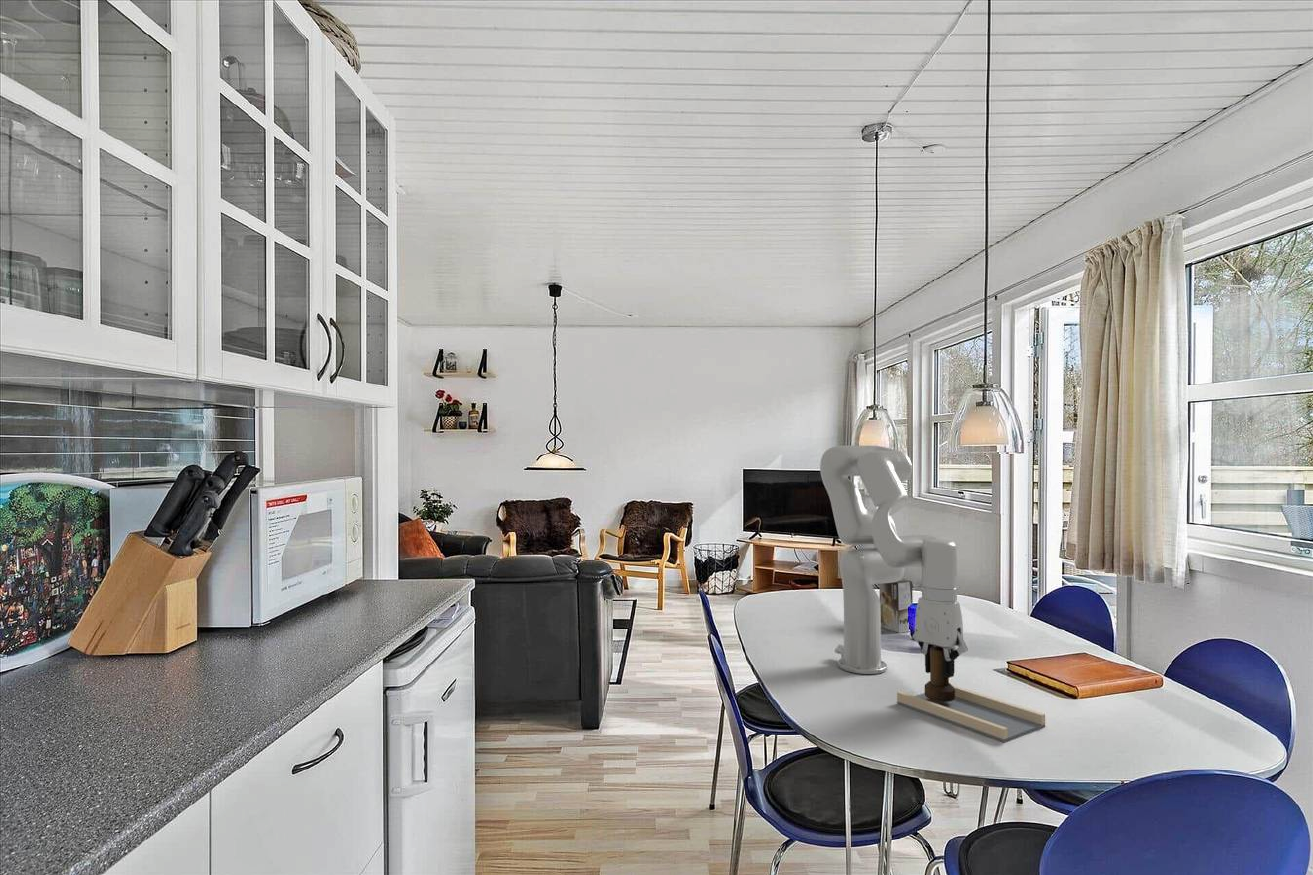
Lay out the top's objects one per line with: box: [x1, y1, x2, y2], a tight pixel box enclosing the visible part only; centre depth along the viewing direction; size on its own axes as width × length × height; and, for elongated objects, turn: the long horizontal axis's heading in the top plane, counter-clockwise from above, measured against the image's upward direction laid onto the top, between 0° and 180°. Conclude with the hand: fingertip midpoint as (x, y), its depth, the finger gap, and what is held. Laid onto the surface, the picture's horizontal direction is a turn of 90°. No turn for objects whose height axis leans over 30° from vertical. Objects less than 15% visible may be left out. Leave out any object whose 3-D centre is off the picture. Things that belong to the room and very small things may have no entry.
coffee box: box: [878, 578, 914, 634], centre depth 234 cm, size 9×6×16 cm
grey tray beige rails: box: [896, 684, 1046, 743], centre depth 159 cm, size 26×15×3 cm, turn 33°
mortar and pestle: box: [924, 646, 955, 702], centre depth 165 cm, size 7×6×18 cm
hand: (939, 673), depth 165 cm, fingers closed on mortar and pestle, 3 cm apart
